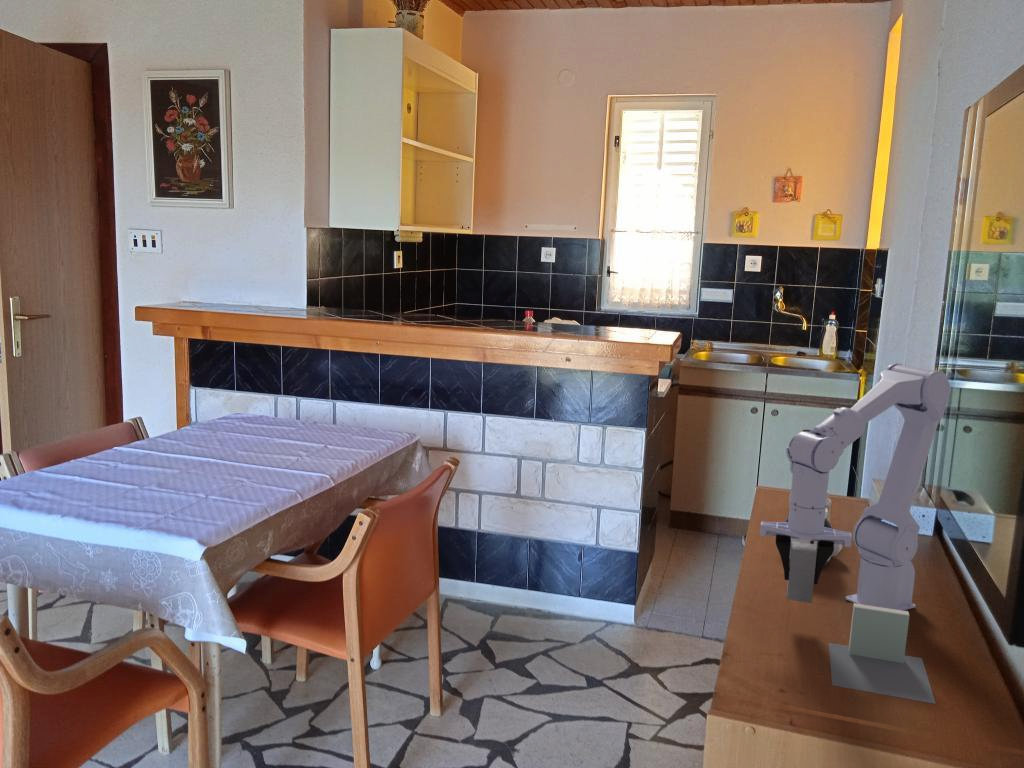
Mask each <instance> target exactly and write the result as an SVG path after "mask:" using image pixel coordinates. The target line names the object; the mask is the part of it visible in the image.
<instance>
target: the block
mask: <svg viewBox="0 0 1024 768" xmlns="http://www.w3.org/2000/svg"><path fill="white" fill-rule="evenodd" d="M816 555H817V550H816V544H809V543H801V542H794V541H792V542H791V553H790V562H789V580H787V587H786V600H789V601H794V602H800V603H807V604H809V603H810V604H813V595H814V585H815V584H814V575H815V565H816Z"/></svg>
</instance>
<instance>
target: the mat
mask: <svg viewBox="0 0 1024 768" xmlns="http://www.w3.org/2000/svg"><path fill="white" fill-rule="evenodd" d="M828 651H829V664H830V675H831V676H830V677H831V686H833V687H838V688H845V689H850V690H857V691H861V692H866V693H873V694H879V695H883V696H888V697H889V696H890V697H893V698H894V697H895V698H899V699H900V698H901V699H905V700H910V701H911V700H912V701H917V702H923V703H928V704H933V705H936V704H937V703H936V700H935V696H934V692H933V691H932V687H931V684H930V679H929V677H928V674H927V670H926V666H925V663H924V661H923V657H917V656H910V655H906V654H905V656H904V663H899V662H893V661H888V660H882V659H876V658H870V657H864V656H858V655H852V654H849V645H844V644H839V643H833V642H828Z"/></svg>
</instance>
